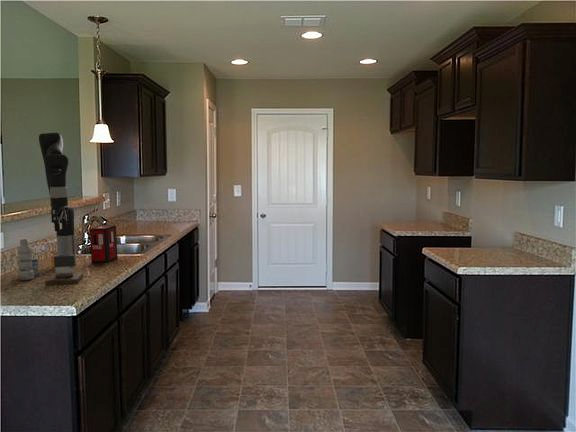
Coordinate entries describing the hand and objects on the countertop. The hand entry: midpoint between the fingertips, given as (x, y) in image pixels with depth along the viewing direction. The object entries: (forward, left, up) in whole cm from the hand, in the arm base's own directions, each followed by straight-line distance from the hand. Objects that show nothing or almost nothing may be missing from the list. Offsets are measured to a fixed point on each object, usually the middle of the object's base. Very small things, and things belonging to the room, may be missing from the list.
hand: (61, 230), depth 237 cm
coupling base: (0, 0, -25) cm, 25 cm away
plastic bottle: (-8, -19, -25) cm, 32 cm away
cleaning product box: (-50, +12, -25) cm, 58 cm away
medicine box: (-16, -20, -25) cm, 36 cm away
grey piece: (0, 0, -22) cm, 22 cm away
